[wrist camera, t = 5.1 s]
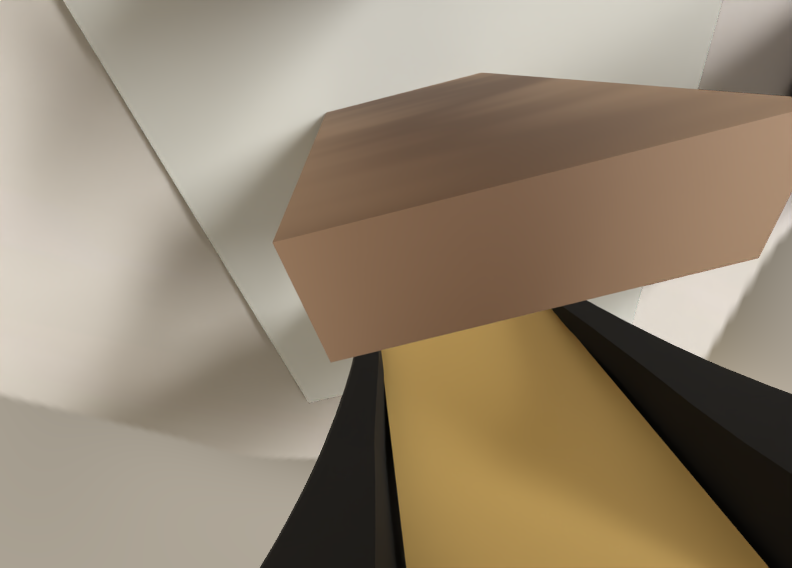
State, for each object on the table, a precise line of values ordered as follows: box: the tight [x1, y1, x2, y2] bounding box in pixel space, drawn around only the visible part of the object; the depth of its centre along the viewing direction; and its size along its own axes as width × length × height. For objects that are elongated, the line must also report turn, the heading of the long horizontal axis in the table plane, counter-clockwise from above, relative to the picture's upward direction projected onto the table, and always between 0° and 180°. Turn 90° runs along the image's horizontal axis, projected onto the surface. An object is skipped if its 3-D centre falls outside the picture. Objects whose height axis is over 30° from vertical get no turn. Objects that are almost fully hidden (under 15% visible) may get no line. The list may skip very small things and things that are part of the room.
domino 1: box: [272, 72, 792, 362], centre depth 7 cm, size 5×2×9 cm, turn 102°
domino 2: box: [381, 309, 769, 568], centre depth 8 cm, size 5×2×9 cm, turn 102°
